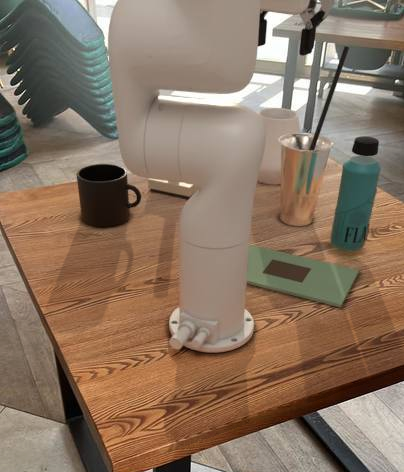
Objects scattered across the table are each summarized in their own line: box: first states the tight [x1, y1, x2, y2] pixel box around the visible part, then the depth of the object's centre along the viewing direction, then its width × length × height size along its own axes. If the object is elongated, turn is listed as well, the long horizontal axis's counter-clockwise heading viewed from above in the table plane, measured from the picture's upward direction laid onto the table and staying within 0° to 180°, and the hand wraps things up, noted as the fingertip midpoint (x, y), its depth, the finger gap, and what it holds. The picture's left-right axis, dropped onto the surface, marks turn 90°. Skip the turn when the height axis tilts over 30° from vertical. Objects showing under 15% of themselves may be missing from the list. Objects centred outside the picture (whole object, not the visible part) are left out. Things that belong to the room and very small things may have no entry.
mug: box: [76, 163, 142, 228], centre depth 111 cm, size 9×12×9 cm
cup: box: [257, 107, 301, 186], centre depth 127 cm, size 13×13×14 cm
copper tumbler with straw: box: [279, 45, 350, 227], centre depth 105 cm, size 11×11×30 cm
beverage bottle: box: [329, 135, 382, 252], centre depth 98 cm, size 6×7×20 cm
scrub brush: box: [147, 178, 199, 201], centre depth 120 cm, size 5×10×11 cm, turn 65°
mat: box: [247, 244, 360, 308], centre depth 97 cm, size 12×20×1 cm, turn 65°
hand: (281, 49), depth 101 cm, fingers open, 9 cm apart
